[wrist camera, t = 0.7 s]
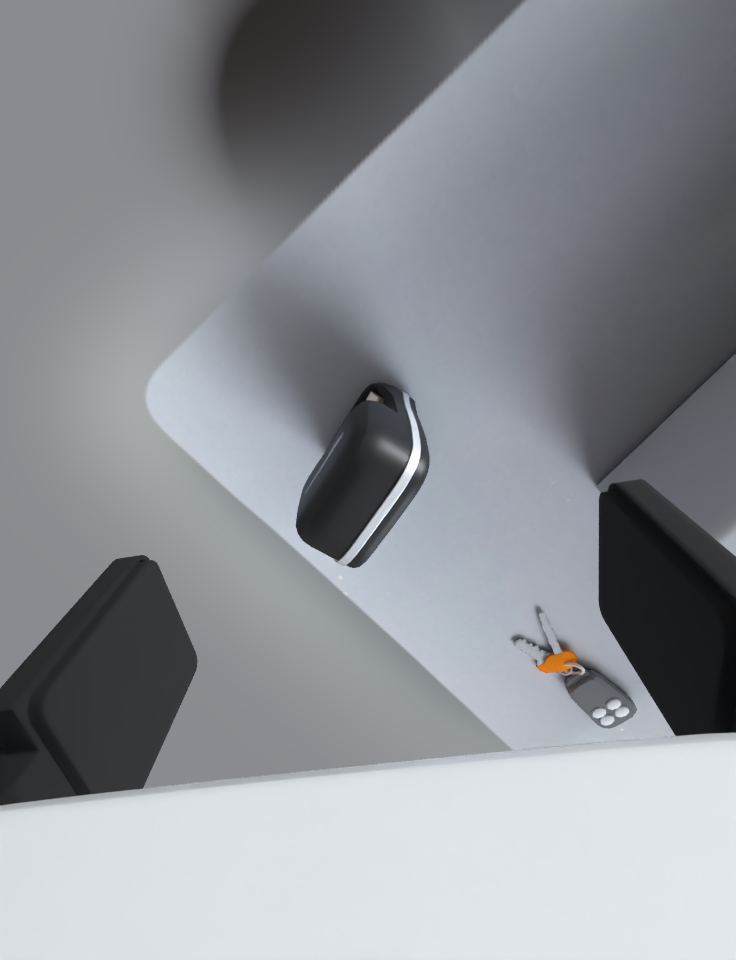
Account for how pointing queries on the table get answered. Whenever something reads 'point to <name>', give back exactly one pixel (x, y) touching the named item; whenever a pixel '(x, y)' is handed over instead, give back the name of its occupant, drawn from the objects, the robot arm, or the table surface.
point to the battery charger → (364, 477)
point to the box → (694, 457)
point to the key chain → (582, 682)
